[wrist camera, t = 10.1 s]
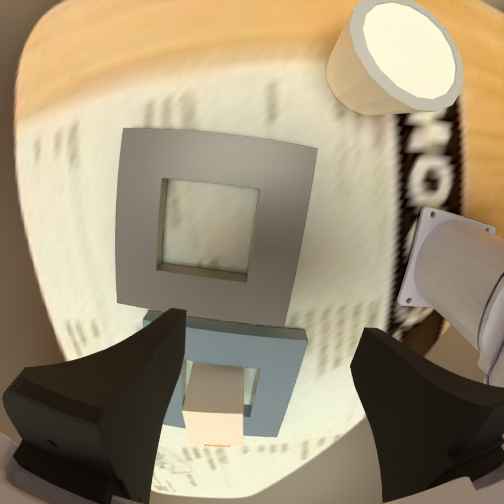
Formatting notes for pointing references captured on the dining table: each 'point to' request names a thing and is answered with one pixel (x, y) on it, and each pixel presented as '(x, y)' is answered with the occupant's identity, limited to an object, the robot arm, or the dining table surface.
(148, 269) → the socket
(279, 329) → the socket
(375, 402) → the robot arm
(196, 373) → the plug
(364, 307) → the dining table surface
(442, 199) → the dining table surface
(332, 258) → the dining table surface
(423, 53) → the cream tapered cup
